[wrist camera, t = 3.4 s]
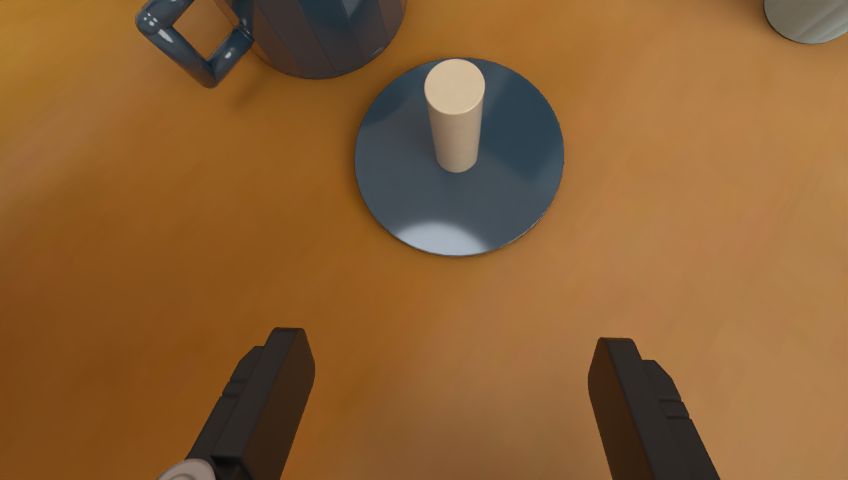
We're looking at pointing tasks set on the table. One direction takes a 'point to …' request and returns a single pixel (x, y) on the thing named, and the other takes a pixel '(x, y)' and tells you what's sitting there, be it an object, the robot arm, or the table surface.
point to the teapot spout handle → (157, 27)
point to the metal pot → (316, 32)
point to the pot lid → (459, 157)
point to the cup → (808, 19)
